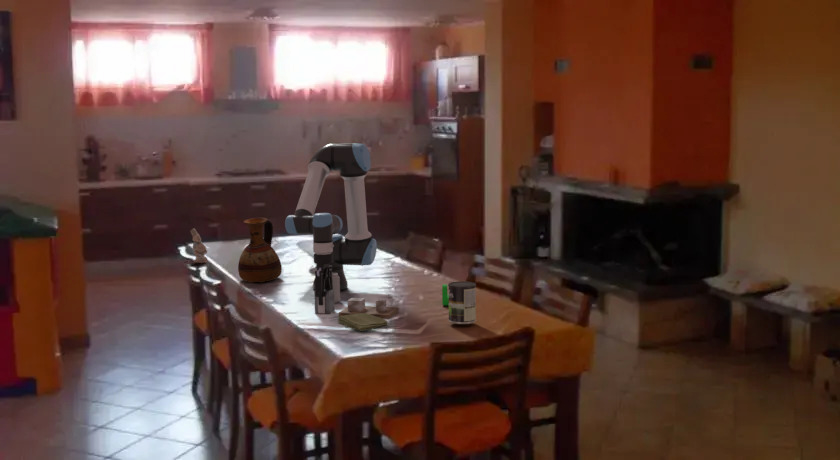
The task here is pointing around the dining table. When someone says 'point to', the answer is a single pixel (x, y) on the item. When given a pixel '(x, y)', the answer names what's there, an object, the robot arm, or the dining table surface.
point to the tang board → (369, 308)
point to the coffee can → (462, 302)
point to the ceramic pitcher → (259, 253)
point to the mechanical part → (445, 295)
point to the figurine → (198, 247)
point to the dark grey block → (326, 301)
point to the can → (336, 287)
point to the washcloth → (362, 321)
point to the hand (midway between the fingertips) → (324, 311)
